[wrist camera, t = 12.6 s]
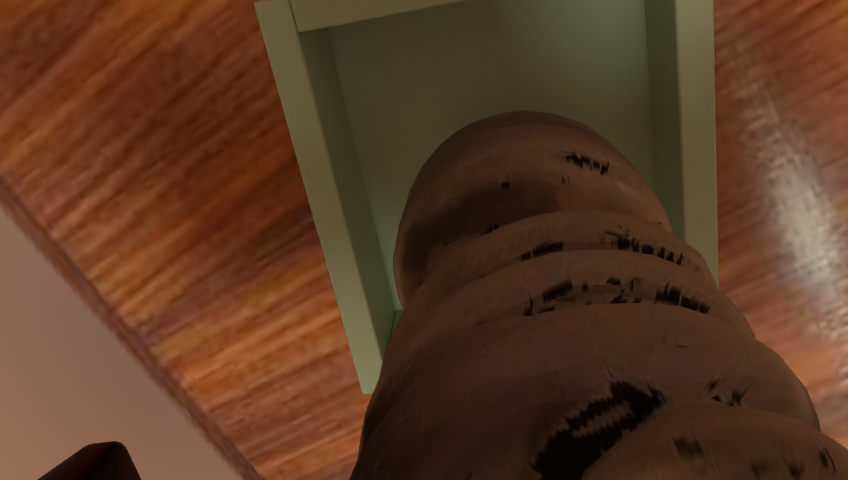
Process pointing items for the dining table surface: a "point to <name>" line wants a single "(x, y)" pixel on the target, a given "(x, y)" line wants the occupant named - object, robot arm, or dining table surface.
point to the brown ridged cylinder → (570, 330)
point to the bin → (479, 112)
